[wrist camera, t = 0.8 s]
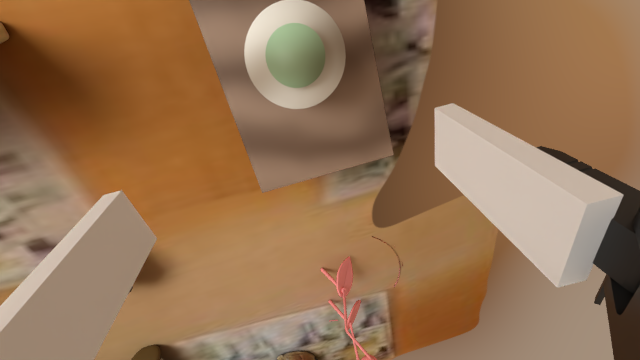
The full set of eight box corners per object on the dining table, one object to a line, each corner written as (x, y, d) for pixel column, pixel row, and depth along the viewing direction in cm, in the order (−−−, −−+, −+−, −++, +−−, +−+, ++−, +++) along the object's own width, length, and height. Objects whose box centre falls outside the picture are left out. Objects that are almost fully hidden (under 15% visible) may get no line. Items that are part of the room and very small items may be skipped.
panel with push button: (173, -54, 23) (110, -121, 15) (339, -105, 23) (360, -200, 15) (264, 187, 31) (252, 224, 23) (389, 151, 30) (420, 176, 23)
